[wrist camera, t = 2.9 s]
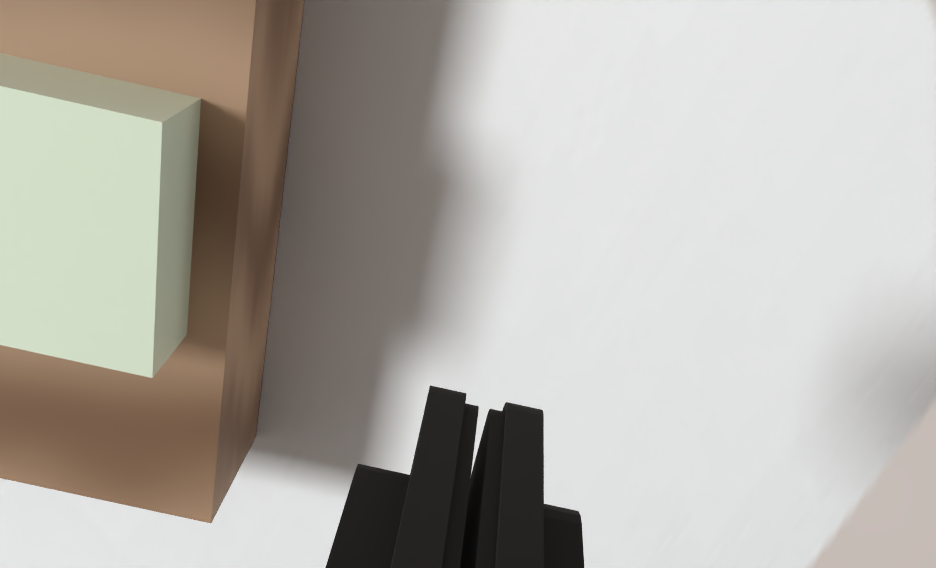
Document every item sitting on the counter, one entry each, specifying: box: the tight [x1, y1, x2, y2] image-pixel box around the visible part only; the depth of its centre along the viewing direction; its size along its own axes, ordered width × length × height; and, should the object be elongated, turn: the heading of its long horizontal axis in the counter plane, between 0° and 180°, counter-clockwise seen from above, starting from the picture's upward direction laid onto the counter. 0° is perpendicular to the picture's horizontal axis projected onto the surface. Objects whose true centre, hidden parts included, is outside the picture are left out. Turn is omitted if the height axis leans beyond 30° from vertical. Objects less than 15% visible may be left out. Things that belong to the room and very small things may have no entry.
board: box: [0, 0, 304, 523], centre depth 21 cm, size 18×12×4 cm, turn 168°
